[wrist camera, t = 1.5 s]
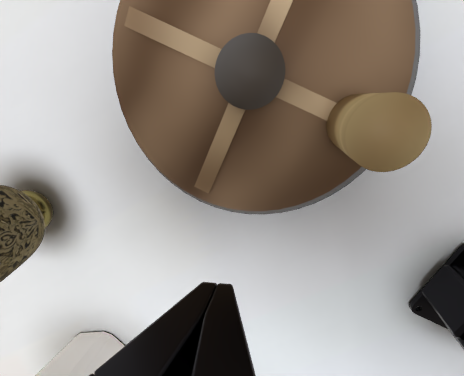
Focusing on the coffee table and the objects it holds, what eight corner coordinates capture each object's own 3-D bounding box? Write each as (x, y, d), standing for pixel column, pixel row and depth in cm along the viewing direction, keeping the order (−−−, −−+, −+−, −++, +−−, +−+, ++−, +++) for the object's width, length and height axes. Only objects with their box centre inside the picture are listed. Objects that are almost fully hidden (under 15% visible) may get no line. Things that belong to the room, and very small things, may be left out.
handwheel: (100, 141, 19) (25, 160, 13) (174, -156, 13) (98, -343, 8) (308, 240, 19) (322, 301, 13) (472, -18, 13) (619, -104, 7)
